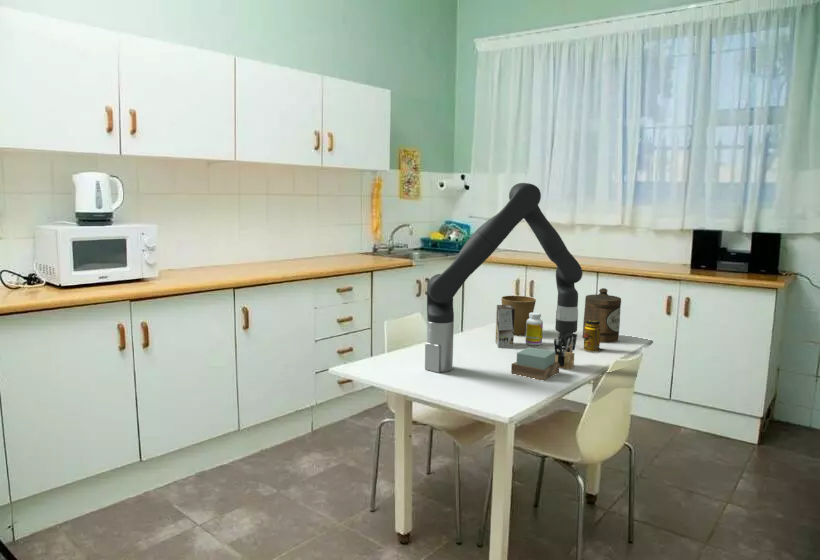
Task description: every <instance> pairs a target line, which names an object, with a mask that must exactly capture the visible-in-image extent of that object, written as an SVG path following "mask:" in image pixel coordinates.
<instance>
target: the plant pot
mask: <svg viewBox="0 0 820 560" xmlns="http://www.w3.org/2000/svg"><path fill="white" fill-rule="evenodd" d="M536 301H537V299H536V298H534V297H531V296H525V295H504V296H503V295H502V296H501V305H512V306H513V307H514V308H515V319H514V336H515V335H517V336H519V335H522V336H526V322H527V320H528V319H529V318H530V317H529V313H532V312H534V310H535V306H536ZM519 337H520V336H519Z"/></svg>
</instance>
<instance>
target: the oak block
mask: <svg viewBox="0 0 820 560" xmlns="http://www.w3.org/2000/svg"><path fill="white" fill-rule="evenodd" d="M555 362H556V363H558V355H555ZM574 366H575V352H572V353H571V352H565V359H564V366H563V367H562V366H559V369H562V368H563V370H566V369H568V370H570V369H573V368H574Z"/></svg>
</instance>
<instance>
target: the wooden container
mask: <svg viewBox="0 0 820 560" xmlns="http://www.w3.org/2000/svg"><path fill="white" fill-rule="evenodd" d="M598 292H599V293H598V294H587V295H586V296H585V300H584V313H583V322H582V323H583V324H582V325H583V326H582V338H583V339H584V331H585V327H586V320H598V321H600V343H603V344H604V343H605V344H606V343H607V344H609V343H611V344H612V343H616V342H618V341H619V339H620V338H619V336H620V324H621V307H622V306H621V305H622V298H621V297H620V296H616V295H610V294H608V289H607V288H605V287H602V288H600V289H599V291H598Z"/></svg>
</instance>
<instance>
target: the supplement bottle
mask: <svg viewBox="0 0 820 560" xmlns="http://www.w3.org/2000/svg"><path fill="white" fill-rule="evenodd" d="M541 316H542V313H541V312H534V311H533V312H532V313H529V317H530V318H529V319H528V320H527V322H526V333H525V343H526V345H529V346H534V345H535V346H537V345H538V346H541V345H542V344H543V329H544V327H543V326H544V324H543V323H544V322H543V320H542V319H541Z"/></svg>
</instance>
